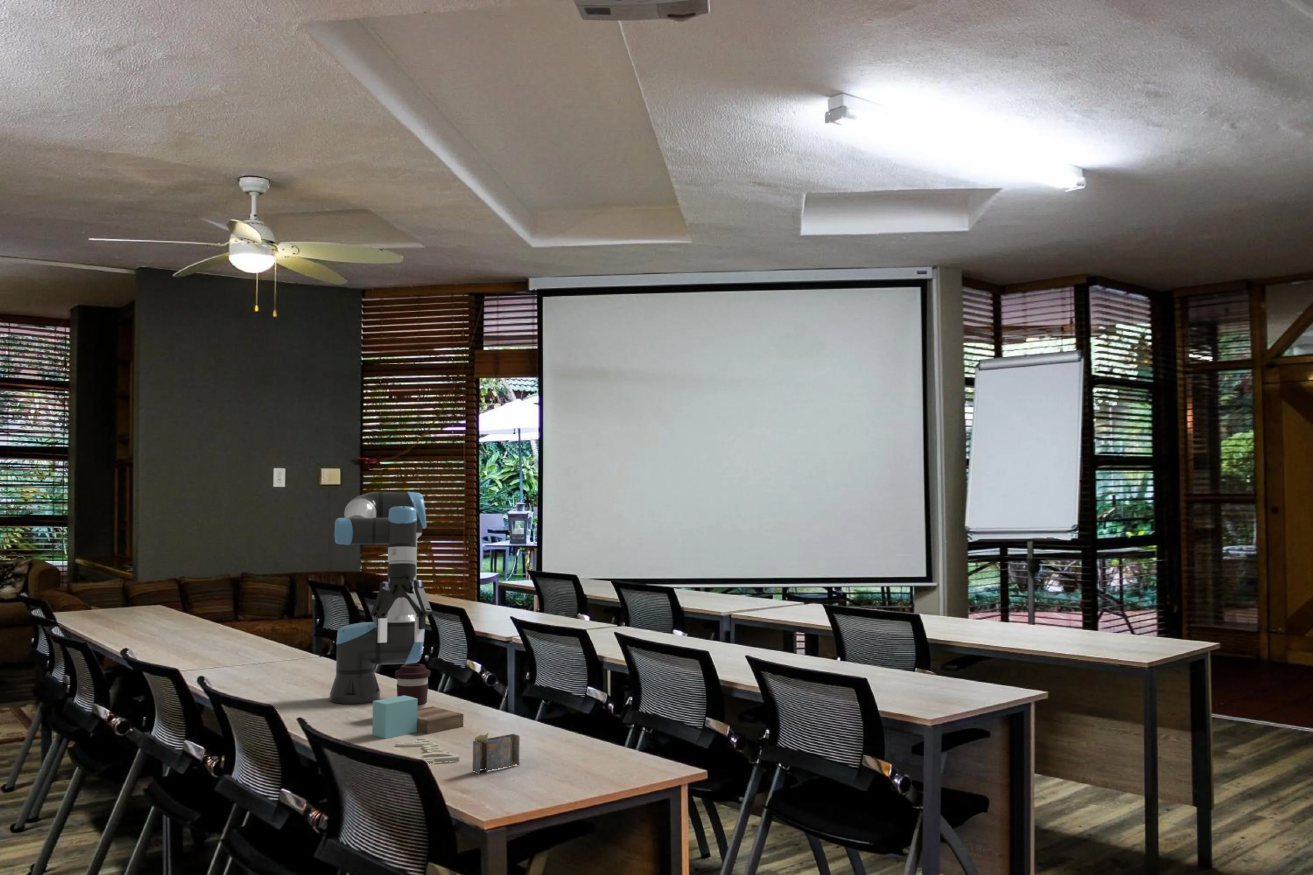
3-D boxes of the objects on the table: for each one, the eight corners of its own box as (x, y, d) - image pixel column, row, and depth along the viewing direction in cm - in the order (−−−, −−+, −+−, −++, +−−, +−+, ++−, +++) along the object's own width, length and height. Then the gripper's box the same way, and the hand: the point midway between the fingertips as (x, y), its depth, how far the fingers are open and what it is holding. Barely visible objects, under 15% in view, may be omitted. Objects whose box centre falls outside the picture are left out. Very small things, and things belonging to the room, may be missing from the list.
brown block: (396, 727, 290) (397, 712, 290) (432, 720, 299) (432, 705, 299) (427, 736, 280) (427, 719, 281) (463, 728, 289) (463, 712, 290)
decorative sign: (460, 756, 256) (421, 761, 251) (460, 763, 256) (420, 768, 251) (429, 736, 275) (391, 741, 270) (429, 742, 275) (391, 747, 270)
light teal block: (372, 734, 279) (372, 700, 280) (403, 728, 287) (404, 695, 287) (385, 738, 275) (385, 704, 276) (416, 732, 283) (417, 698, 283)
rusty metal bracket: (479, 776, 244) (480, 734, 245) (472, 773, 247) (473, 732, 247) (520, 768, 252) (520, 727, 252) (513, 765, 254) (513, 724, 254)
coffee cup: (420, 722, 296) (421, 669, 297) (388, 720, 298) (389, 667, 299) (435, 714, 306) (435, 663, 306) (403, 713, 308) (404, 661, 308)
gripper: (358, 564, 289) (357, 643, 286) (426, 560, 277) (425, 642, 273) (379, 565, 296) (377, 642, 292) (445, 561, 283) (444, 641, 280)
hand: (400, 642), depth 283 cm, fingers open, 13 cm apart
